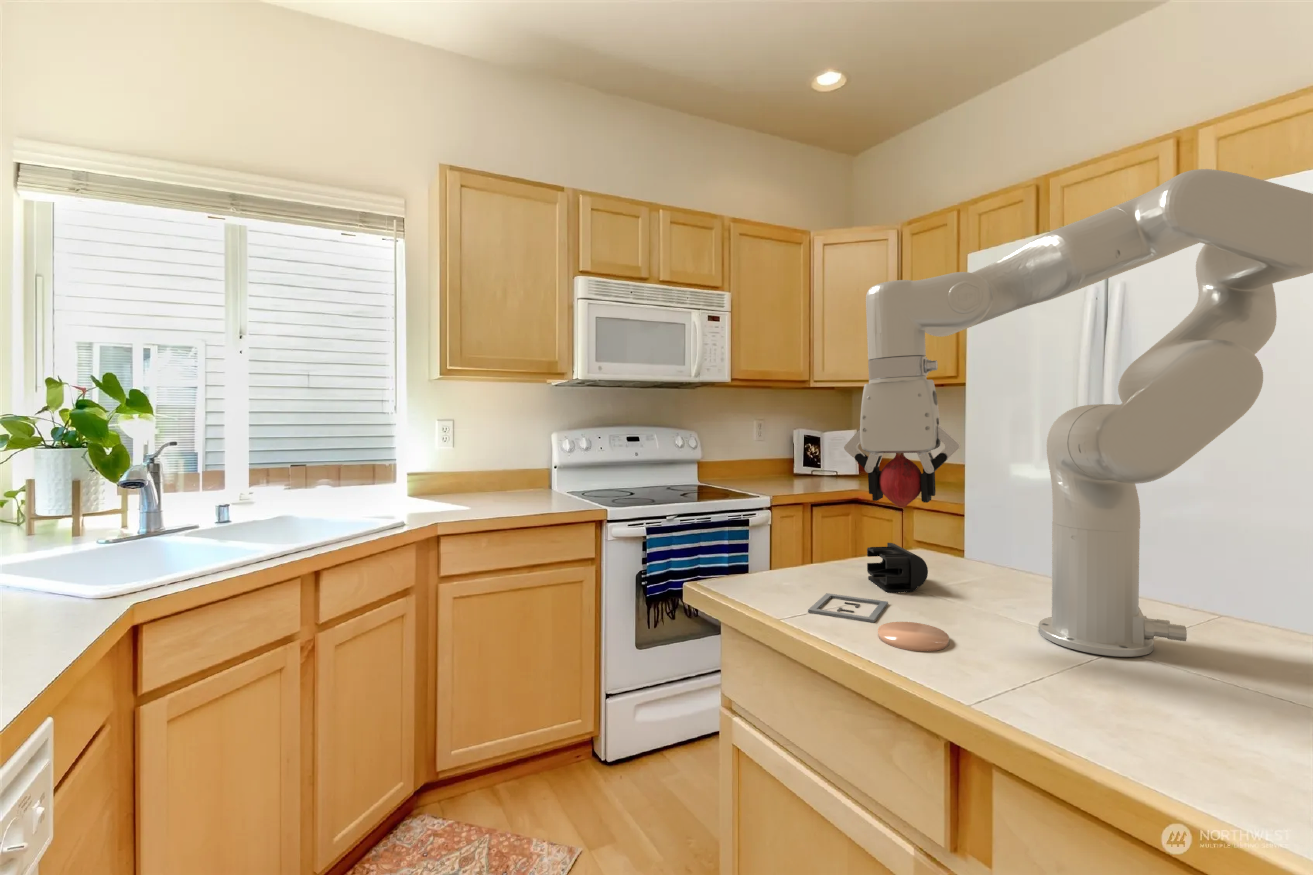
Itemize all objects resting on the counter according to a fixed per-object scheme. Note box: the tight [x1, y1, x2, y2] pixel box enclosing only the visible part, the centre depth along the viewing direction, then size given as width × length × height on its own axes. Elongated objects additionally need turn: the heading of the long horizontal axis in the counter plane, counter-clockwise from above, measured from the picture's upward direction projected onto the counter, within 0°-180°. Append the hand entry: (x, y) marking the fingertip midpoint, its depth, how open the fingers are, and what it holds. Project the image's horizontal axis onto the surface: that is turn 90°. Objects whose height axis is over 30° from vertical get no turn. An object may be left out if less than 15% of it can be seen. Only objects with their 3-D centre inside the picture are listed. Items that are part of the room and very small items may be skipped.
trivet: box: [877, 621, 950, 652], centre depth 84 cm, size 9×9×1 cm
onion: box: [879, 453, 923, 509], centre depth 86 cm, size 6×6×8 cm
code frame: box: [807, 592, 889, 623], centre depth 98 cm, size 10×10×1 cm
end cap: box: [866, 542, 929, 594], centre depth 110 cm, size 10×7×7 cm
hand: (901, 499), depth 86 cm, fingers closed on onion, 5 cm apart
